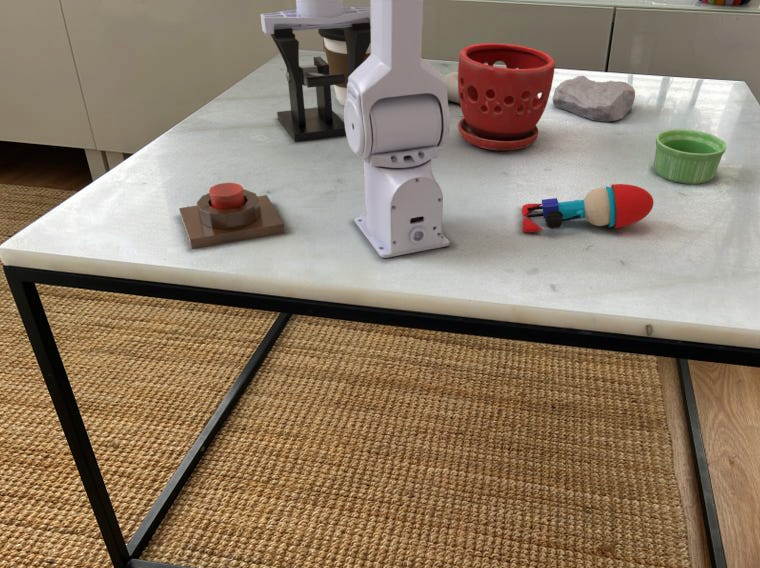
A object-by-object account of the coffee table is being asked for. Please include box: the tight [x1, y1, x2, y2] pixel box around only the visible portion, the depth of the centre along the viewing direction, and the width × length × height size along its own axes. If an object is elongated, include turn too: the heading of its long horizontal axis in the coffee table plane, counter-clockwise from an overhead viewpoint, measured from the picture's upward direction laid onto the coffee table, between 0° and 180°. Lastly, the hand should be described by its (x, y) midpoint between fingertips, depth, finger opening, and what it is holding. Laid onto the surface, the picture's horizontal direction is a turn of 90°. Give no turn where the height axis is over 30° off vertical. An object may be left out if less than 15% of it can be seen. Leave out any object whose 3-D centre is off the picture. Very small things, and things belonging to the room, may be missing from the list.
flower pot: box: [457, 42, 556, 152], centre depth 101 cm, size 13×13×12 cm
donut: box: [443, 70, 460, 105], centre depth 118 cm, size 10×4×10 cm
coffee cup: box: [317, 27, 371, 106], centre depth 112 cm, size 11×11×12 cm
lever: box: [299, 64, 345, 88], centre depth 98 cm, size 11×5×2 cm, turn 24°
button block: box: [178, 188, 286, 250], centre depth 80 cm, size 10×8×3 cm
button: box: [208, 182, 245, 210], centre depth 79 cm, size 4×4×2 cm
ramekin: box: [653, 128, 727, 185], centre depth 96 cm, size 9×9×4 cm
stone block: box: [552, 75, 636, 123], centre depth 116 cm, size 12×5×10 cm
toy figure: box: [521, 183, 655, 233], centre depth 83 cm, size 8×5×15 cm
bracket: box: [276, 56, 347, 143], centre depth 103 cm, size 10×8×9 cm
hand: (325, 87), depth 95 cm, fingers open, 7 cm apart
